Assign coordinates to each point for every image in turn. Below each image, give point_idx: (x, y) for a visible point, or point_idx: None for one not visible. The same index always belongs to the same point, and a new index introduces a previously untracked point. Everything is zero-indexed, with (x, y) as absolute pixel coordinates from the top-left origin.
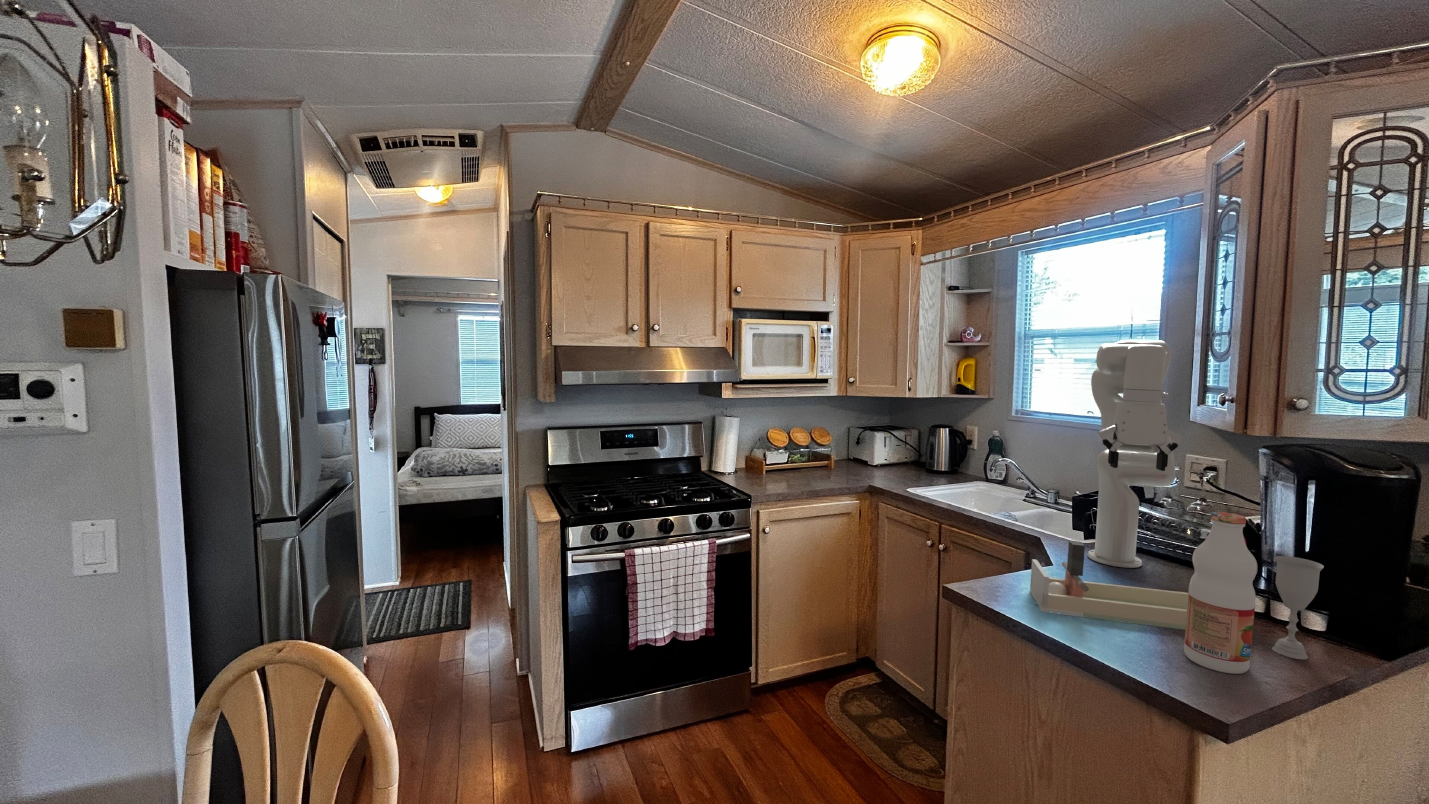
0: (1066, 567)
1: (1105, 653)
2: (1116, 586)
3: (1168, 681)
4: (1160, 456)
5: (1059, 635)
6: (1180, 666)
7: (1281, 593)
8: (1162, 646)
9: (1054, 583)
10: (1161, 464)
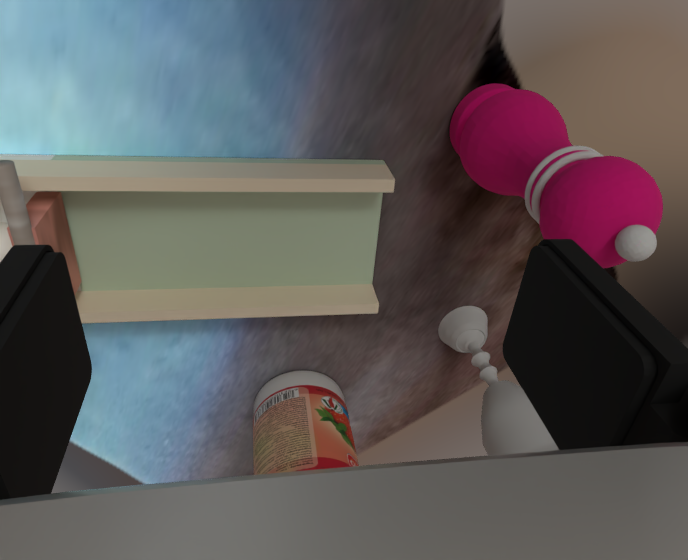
0: (7, 219)
1: (110, 434)
2: (190, 191)
3: (191, 478)
4: (587, 425)
5: None
6: (230, 433)
7: (481, 422)
8: (228, 376)
9: None
10: (529, 390)
